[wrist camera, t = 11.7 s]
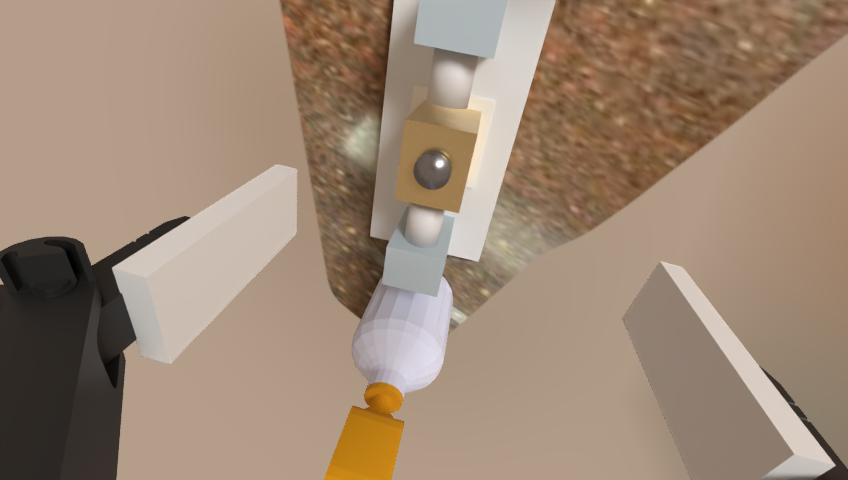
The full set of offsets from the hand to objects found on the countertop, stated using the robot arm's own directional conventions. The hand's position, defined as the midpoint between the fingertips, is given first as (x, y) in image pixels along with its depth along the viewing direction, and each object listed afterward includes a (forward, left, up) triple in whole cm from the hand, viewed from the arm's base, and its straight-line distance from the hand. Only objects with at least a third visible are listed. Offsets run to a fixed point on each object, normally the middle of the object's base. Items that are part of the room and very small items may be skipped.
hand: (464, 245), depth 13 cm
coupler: (+2, -3, -21) cm, 22 cm away
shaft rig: (+2, -3, -23) cm, 23 cm away
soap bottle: (+21, -3, -23) cm, 31 cm away
